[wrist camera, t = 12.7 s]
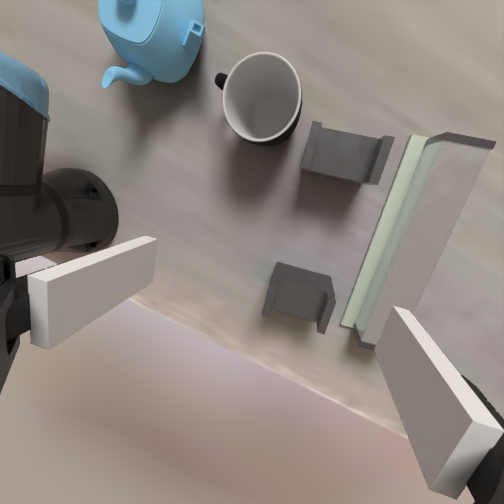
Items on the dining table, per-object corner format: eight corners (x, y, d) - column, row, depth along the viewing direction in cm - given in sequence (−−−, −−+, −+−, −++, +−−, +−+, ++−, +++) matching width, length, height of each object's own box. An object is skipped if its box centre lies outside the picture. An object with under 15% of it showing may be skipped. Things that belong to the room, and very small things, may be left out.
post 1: (270, 288, 45) (260, 314, 36) (277, 261, 44) (269, 282, 35) (321, 303, 44) (325, 334, 35) (330, 276, 42) (336, 302, 33)
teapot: (232, 77, 38) (202, 36, 27) (153, 112, 41) (99, 87, 31) (198, -45, 35) (150, -146, 24) (116, 4, 38) (43, -65, 28)
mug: (315, 104, 36) (318, 77, 27) (281, 163, 39) (273, 157, 30) (243, 61, 37) (221, 19, 27) (215, 122, 40) (186, 103, 30)
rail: (384, 336, 42) (394, 356, 38) (352, 327, 43) (358, 345, 38) (468, 147, 34) (496, 141, 29) (426, 139, 34) (447, 132, 29)
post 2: (301, 170, 39) (299, 167, 30) (310, 135, 38) (311, 120, 29) (361, 184, 38) (378, 185, 29) (373, 148, 36) (395, 137, 27)
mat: (340, 322, 44) (340, 324, 43) (410, 135, 35) (412, 134, 35) (394, 338, 43) (395, 341, 42) (481, 149, 34) (484, 148, 33)
